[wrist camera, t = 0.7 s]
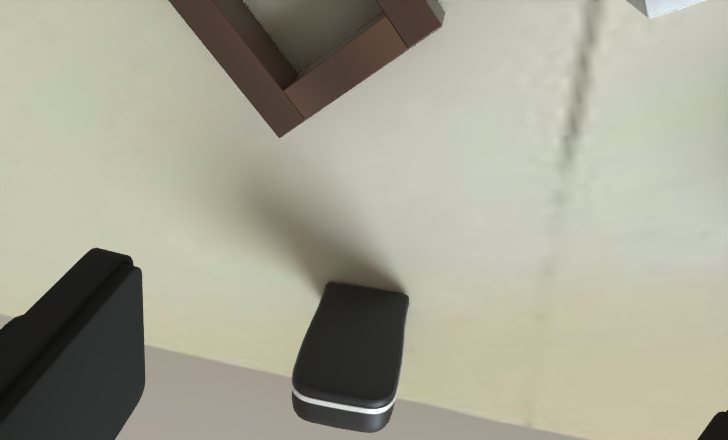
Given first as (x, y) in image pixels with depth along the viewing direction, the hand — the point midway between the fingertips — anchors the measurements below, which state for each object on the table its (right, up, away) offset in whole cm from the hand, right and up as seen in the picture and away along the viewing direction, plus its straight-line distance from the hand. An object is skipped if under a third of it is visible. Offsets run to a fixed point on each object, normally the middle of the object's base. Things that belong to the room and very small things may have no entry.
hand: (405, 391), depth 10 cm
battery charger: (0, -4, +38) cm, 38 cm away
